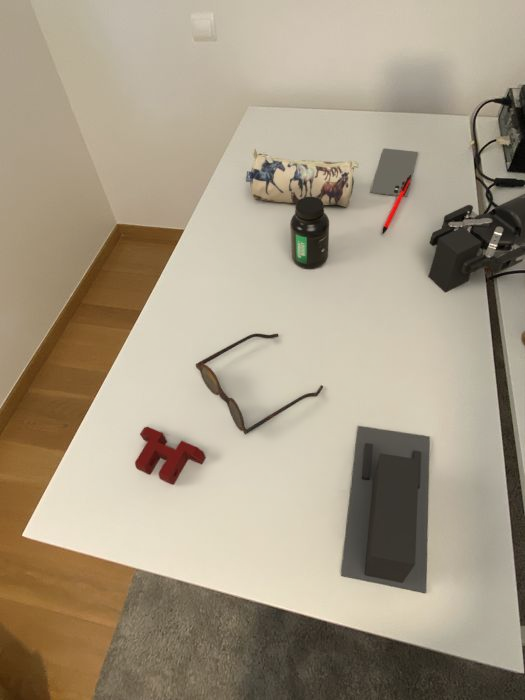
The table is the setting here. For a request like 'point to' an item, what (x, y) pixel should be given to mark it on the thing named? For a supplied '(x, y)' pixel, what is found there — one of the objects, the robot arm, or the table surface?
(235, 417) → the eyeglasses
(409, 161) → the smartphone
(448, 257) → the black rectangular box
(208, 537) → the table surface
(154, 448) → the bracket
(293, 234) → the supplement bottle
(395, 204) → the pen
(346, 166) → the pencil case
